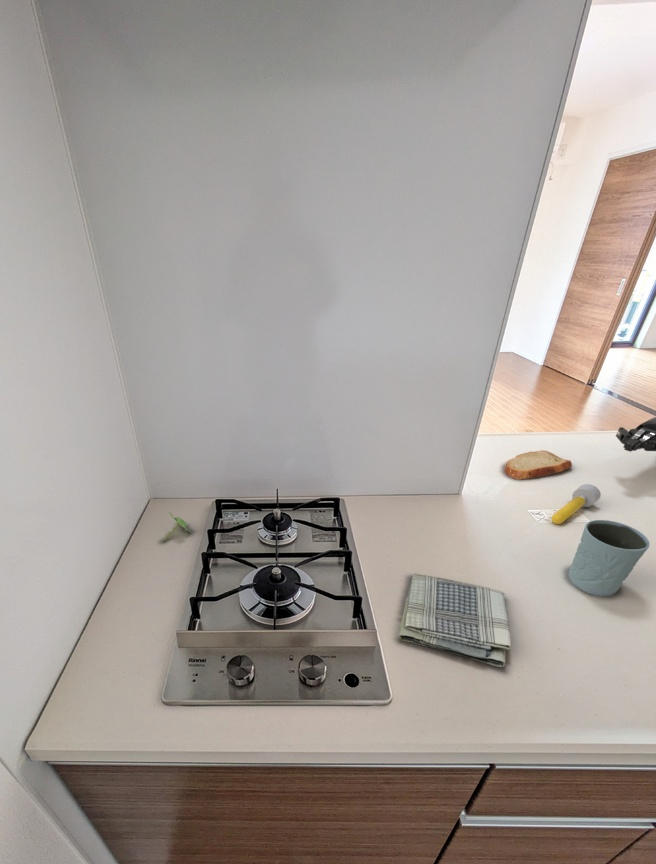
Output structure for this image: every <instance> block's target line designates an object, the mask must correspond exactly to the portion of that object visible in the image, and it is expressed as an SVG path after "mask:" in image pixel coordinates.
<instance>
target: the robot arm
mask: <svg viewBox="0 0 656 864" xmlns="http://www.w3.org/2000/svg"><path fill="white" fill-rule="evenodd" d="M615 437H616V438H617V440H618V441H619V442H620V443H621V444H623V450H624V451H627V452H630V453H631V452H635V451H637V450H644V451H645V452H656V416H654V417H651V418H650V419H648V420H646V421H644V422H641V423H640V424H639V425H637V426H636V427H635V428H630V429H629V430H628V429H626V428H625V427H622V426H620V427H618V430H617V432H616V434H615Z"/></svg>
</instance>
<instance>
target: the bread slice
mask: <svg viewBox="0 0 656 864" xmlns="http://www.w3.org/2000/svg"><path fill="white" fill-rule="evenodd" d="M571 467H573V463H572V461H571V460H570V459H564V458H562V457H560V456H558V455H556V454H554V453H552V452H551V451H548V450H536V451H528V452H524V453H519V454H517V455H516V456H515V457H513V458H512V459H510V460H508V461H507V463H506V464H505V466H504V473H505V474H506V475H507V476H508V477H509V478H511V479H514V480H519V481H520V480H527V479H528V480H531V479H537V478H541V477H547V476H549V475H550V476H551V475H554V474H560V473H561V472H563V471H566V470H568V469H570V468H571Z"/></svg>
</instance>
